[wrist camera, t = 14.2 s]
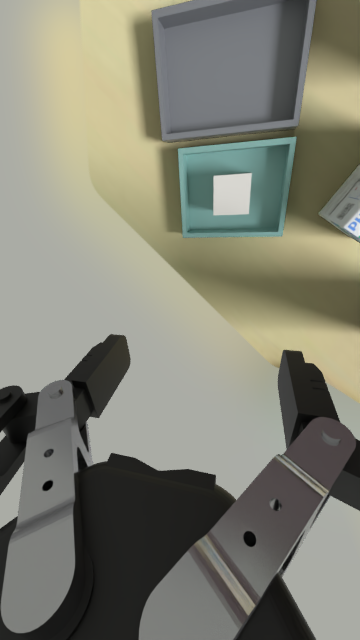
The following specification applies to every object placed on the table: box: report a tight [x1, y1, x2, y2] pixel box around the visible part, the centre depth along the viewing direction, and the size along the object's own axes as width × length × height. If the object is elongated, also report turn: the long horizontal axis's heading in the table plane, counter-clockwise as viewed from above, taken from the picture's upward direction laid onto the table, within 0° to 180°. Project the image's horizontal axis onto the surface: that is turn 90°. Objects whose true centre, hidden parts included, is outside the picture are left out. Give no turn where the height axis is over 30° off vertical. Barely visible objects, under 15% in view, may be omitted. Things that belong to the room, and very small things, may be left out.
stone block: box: [213, 173, 252, 215], centre depth 32 cm, size 4×4×4 cm
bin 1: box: [152, 0, 317, 143], centre depth 28 cm, size 16×11×3 cm
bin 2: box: [178, 137, 297, 238], centre depth 33 cm, size 14×11×3 cm
